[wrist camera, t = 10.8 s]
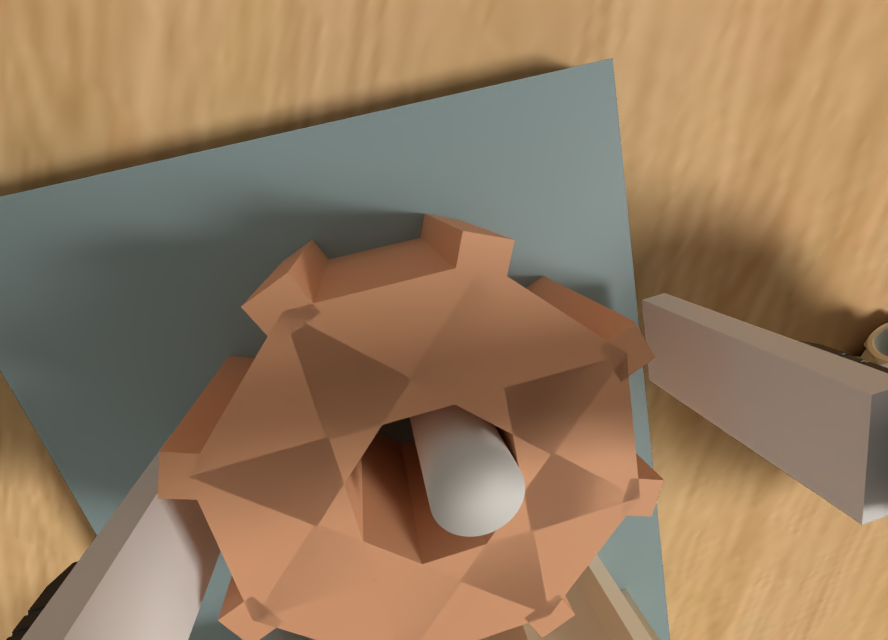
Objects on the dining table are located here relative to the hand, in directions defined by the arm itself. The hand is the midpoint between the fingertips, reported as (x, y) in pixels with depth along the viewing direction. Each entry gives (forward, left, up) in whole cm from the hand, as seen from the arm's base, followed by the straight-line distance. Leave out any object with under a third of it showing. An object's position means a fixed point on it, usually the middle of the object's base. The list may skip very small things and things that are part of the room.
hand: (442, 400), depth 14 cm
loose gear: (0, -1, -1) cm, 1 cm away
